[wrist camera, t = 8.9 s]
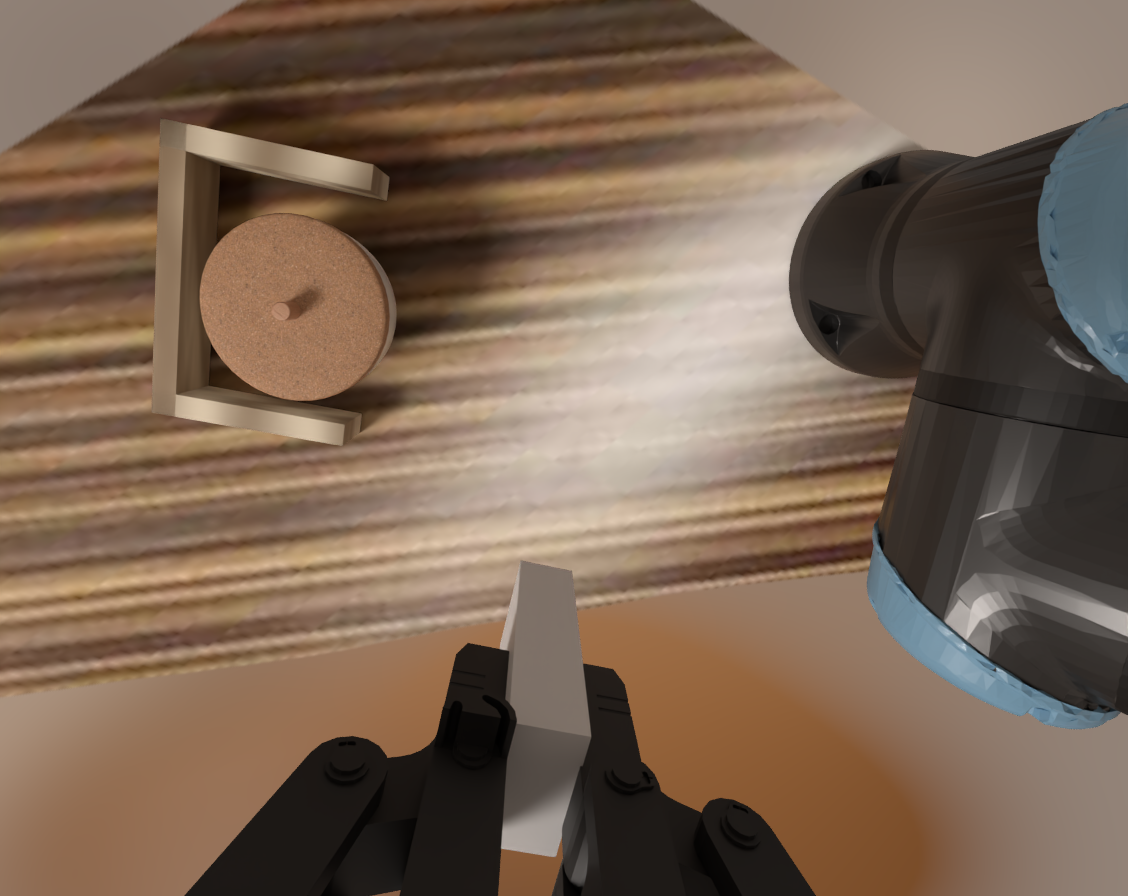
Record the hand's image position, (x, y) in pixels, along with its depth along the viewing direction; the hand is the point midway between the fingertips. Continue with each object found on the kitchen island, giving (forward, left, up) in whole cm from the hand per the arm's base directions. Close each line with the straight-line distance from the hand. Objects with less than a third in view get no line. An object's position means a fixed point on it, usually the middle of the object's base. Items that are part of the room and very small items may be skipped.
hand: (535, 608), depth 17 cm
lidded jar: (+15, -5, -29) cm, 33 cm away
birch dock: (+19, -5, -28) cm, 34 cm away
